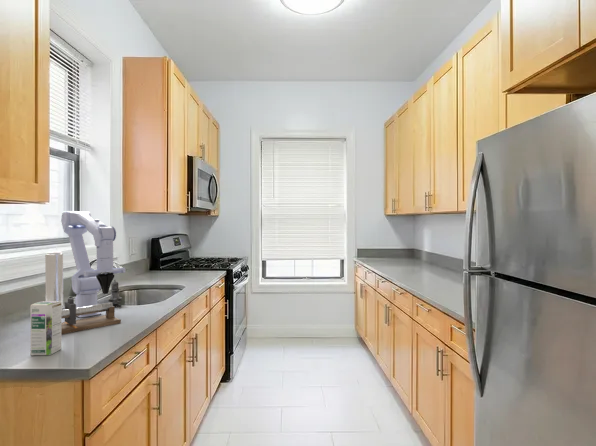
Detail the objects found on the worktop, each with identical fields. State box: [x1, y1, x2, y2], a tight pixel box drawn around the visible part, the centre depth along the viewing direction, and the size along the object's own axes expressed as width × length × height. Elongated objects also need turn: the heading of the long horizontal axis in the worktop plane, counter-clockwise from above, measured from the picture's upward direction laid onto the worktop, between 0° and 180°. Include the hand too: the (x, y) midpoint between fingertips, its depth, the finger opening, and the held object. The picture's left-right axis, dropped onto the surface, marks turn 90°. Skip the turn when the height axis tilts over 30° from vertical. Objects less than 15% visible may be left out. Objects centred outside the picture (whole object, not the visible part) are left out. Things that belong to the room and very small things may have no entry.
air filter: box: [44, 251, 64, 310], centre depth 166 cm, size 6×6×25 cm
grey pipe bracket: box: [63, 297, 77, 325], centre depth 136 cm, size 7×2×8 cm, turn 47°
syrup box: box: [29, 300, 62, 357], centre depth 111 cm, size 6×6×14 cm
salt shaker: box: [107, 279, 123, 308], centre depth 171 cm, size 6×6×12 cm
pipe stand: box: [61, 302, 122, 335], centre depth 139 cm, size 12×22×7 cm, turn 137°
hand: (105, 293), depth 146 cm, fingers closed
